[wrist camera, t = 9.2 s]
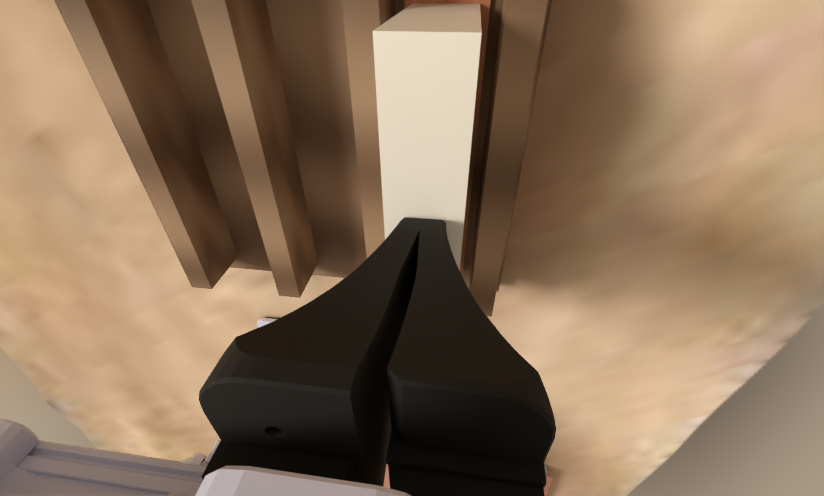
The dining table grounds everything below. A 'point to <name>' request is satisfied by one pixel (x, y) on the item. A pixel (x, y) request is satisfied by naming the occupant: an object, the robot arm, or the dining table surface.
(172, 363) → the dining table surface
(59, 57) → the dining table surface
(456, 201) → the block
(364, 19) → the rack
